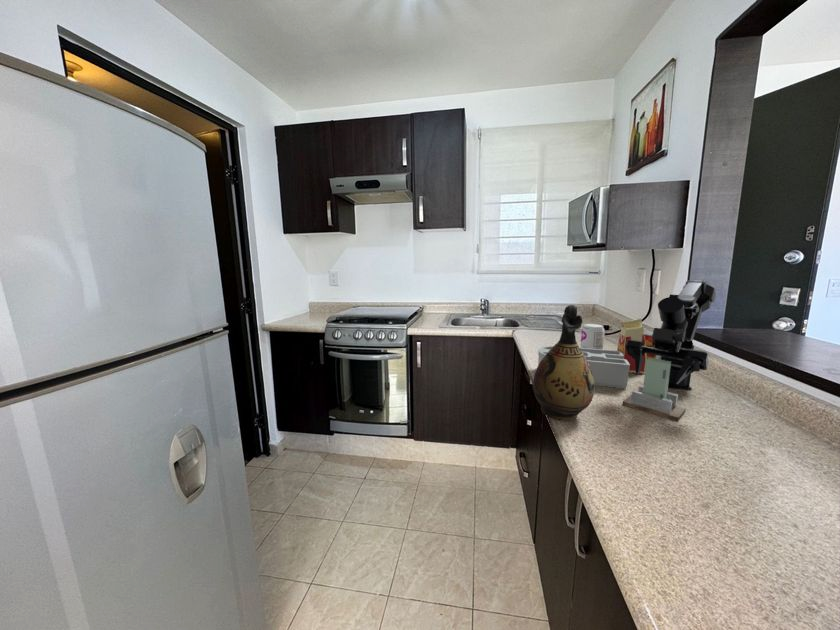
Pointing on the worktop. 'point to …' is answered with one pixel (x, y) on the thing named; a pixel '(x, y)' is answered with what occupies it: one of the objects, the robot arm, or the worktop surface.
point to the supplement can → (592, 336)
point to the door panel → (656, 377)
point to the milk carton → (632, 332)
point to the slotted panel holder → (655, 404)
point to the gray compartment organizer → (602, 366)
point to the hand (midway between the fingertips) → (655, 378)
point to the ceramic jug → (564, 374)
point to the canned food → (650, 345)
